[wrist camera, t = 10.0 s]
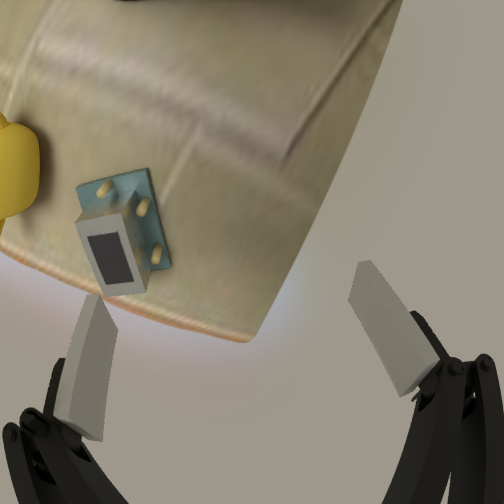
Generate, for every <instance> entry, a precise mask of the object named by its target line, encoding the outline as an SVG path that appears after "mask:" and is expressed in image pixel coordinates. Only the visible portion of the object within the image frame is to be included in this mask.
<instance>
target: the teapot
mask: <svg viewBox="0 0 504 504" xmlns="http://www.w3.org/2000/svg"><path fill="white" fill-rule="evenodd" d="M39 176H40V152H39V143H38V136H37V134H36V133H34V132H32V131H31V130H30V129H29V128H27V127H25V126H23V125H21V124H18V123H13V122H8V121H7V119H6V117H5V116H4V115H3V114H2V113H0V235H1V232H2V229H3V225H4V222H5V219H6V218H8V217H11V216H14V215H16V214H18V213H20V212H22V211H23V210H25V209H26V208H28V207H29V206H30V205H31V204H32V203H33V202H34V200H35V198H36V196H37V192H38V187H39Z"/></svg>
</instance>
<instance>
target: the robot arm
mask: <svg viewBox="0 0 504 504" xmlns="http://www.w3.org/2000/svg"><path fill="white" fill-rule="evenodd" d="M124 1H132V0H124ZM348 301H349V303H350V304H351V306H352V308H353V309H354V311H355V313H356V315H357V317H358V318H359V320H360V322H361V324H362V326H363V327H364V329H365V331H366V333H367V335H368V336H369V338H370V340H371V342H372V344H373V345H374V348H375V349H376V351H377V353H378V355H379V357H380V359H381V361H382V363H383V365H384V367H385V369H386V370H387V372H388V374H389V376H390V378H391V380H392V382H393V384H394V386H395V388H396V390H397V392H398V394H399V397H402V396H404V395H406V394H409V393H410V392H413V391H414V390H415V388H416V387H417V386H419V388H420V390H419V392H418V393H417V394H416V395H415V396H414V397H413V398H412V400H411V401H414V400H415V399H416V398H417V401H416V406H415V410H414V414H413V418H412V422H411V425H410V429H409V432H408V436H407V439H406V442H405V445H404V449H403V452H402V455H401V458H400V460H399V463H398V466H397V469H396V471H395V474H394V476H393V479H392V481H391V484H390V486H389V488H388V491H387V493H386V495H385V498H384V500H383V502H382V504H440V503H441V500H442V498H443V495H444V492H445V489H446V486H447V482H448V479H449V476H450V472H451V477H450V487H449V496H448V504H504V412H503V404H502V397H501V391H500V386H499V380H498V376H497V371H496V366H495V363H494V361H493V359H492V358H491V357H490V356H489V355H487V354H480V355H479V356H478V357H477V358H476V360H475V361H469V362H462V361H461V360H460V359H457V358H455V357H450V356H449V355H448V353H447V352H446V350H445V349H444V347H443V346H442V344H441V343H440V341H439V340H438V338H437V337H436V335H435V334H434V333H433V331H432V329H431V328H430V327H429V326H428V323H427V322H426V321H425V319H424V318H423V317H422V316H421V315H420V314H419V313H417V312H416V311H415V310H414V311H411V312H409V311H408V310H407V308H406V307H405V306H404V304H403V303H402V301H401V300H400V299H399V297H398V296H397V295H396V293H395V292H394V290H393V289H392V288H391V286H390V285H389V284H388V282H387V281H386V280H385V279H384V277H383V276H382V274H381V273H380V272H379V271H378V269H377V268H376V267H375V265H374V264H373V263H372V262H371V261H363V262H358V266H357V270H356V274H355V277H354V281H353V285H352V289H351V292H350V296H349V299H348ZM117 333H118V329H117V327H116V325H115V323H114V322H113V319H112V318H111V316H110V314H109V312H108V310H107V308H106V306H105V305H104V302H103V300H102V298H101V296H100V294H90V295H87V296H86V299H85V301H84V304H83V307H82V309H81V312H80V315H79V318H78V321H77V324H76V327H75V330H74V333H73V336H72V339H71V342H70V346H69V349H68V352H67V356H66V358H59V360H58V361H57V363H56V364H55V366H54V368H53V371H52V375H51V377H52V378H51V379H50V383H49V385H50V386H49V387H48V392H47V396H46V400H45V405H44V410H43V414H42V413H41V412H39V411H38V410H37V409H35V408H31V407H30V408H27V409H25V410H24V411H23V412H22V414H21V416H20V423H19V424H20V427H19V426H18V425H16V424H15V423H13V422H9V423H7V424H6V425H5V427H4V428H3V432H2V433H3V434H2V437H3V443H4V449H5V454H6V459H7V464H8V468H9V472H10V475H11V480H12V483H13V487H14V490H15V493H16V496H17V499H18V502H19V504H128V502H127V501H126V500H125V499H124V497H123V496H122V495H121V494H120V493H119V492H118V490H117V489H116V488H115V487H114V485H113V484H112V483H111V482H110V480H109V479H108V478H107V476H106V475H105V474H104V472H103V471H102V469H101V468H100V467H99V465H98V464H97V462H96V461H95V460H94V458H93V457H92V455H91V454H90V452H89V450H88V449H87V447H86V446H85V444H84V443H83V442H82V441H81V439H82V436H83V437H85V438H86V439H88V440H93V441H100V442H103V429H104V418H105V408H106V399H107V391H108V384H109V377H110V371H111V365H112V359H113V353H114V348H115V343H116V338H117ZM474 392H475V397H474V395H473V393H474Z"/></svg>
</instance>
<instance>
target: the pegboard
mask: <svg viewBox="0 0 504 504" xmlns="http://www.w3.org/2000/svg"><path fill="white" fill-rule="evenodd" d="M131 190H135V192H136V197H137V201H138V208H137V210H136V214H137V215H138V216H140V217H141V218H142V222H143V226H144V230H145V234H146V238H147V242H148V245H149V249H150V252H151V256H152V257H151V262H152V267H151V271H154V270H160V269H167V268H171V260H170V257H169V253H168V250H167V246H166V243H165V239H164V235H163V232H162V228H161V224H160V220H159V216H158V212H157V208H156V204H155V200H154V195H153V191H152V187H151V182H150V177H149V173H148V168H144V169H139V170H135V171H130V172H126V173H122V174H118V175H114V176H110V177H106V178H102V179H98V180H95V181H91V182H88V183H84V184H81V185H78V186H77V187H76V191H77V194H78V198H79V201H80V204H81V207H82V210H83V211H84V210H85V209H86V208H87V206H88V205H89V204H90V203H91V201H92V200H93V199H94V198H97V197H99V198H104V197H105V196H106V195H111V194H116V193H121V192H126V191H131Z"/></svg>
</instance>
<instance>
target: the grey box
mask: <svg viewBox="0 0 504 504" xmlns="http://www.w3.org/2000/svg"><path fill="white" fill-rule="evenodd" d="M137 208H138V201H137V197H136V192H135V190H131V191H126V192H121V193H116V194H111V195H106V196H105V197H104V198H99V197H97V198H94V199H93V200H92V201H91V203H90V204H89V205H88V206H87V208H86V209H85V210H84V211H83V212H82V214H81V215H80V216H79V217H78V219H77V220H76V221H75V225H76V228H77V230H78V233H79V236H80V239H81V242H82V244H83V247H84V249H85V252H86V255H87V257H88V260H89V262H90V264H91V267H92V269H93V272H94V274H95V276H96V278H97V281H98V283H99V285H100V287H101V289H102V292H103V294H104V296H105V297H109V296H119V295H129V294H139V293H146V291H147V286H148V281H149V276H150V271H151V267H152V262H151V257H152V256H151V252H150V249H149V245H148V242H147V238H146V234H145V230H144V226H143V222H142V218H141V217H140V216H138V215H137V214H136V210H137Z"/></svg>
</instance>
